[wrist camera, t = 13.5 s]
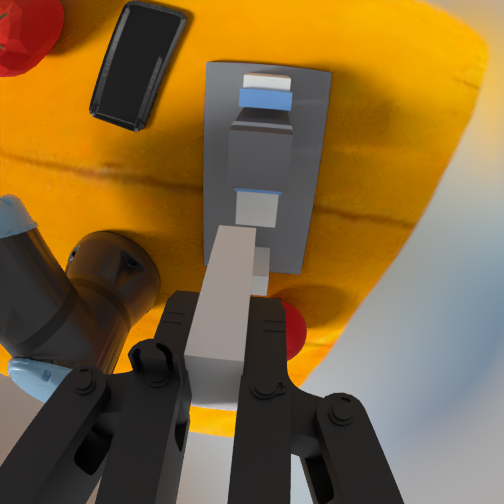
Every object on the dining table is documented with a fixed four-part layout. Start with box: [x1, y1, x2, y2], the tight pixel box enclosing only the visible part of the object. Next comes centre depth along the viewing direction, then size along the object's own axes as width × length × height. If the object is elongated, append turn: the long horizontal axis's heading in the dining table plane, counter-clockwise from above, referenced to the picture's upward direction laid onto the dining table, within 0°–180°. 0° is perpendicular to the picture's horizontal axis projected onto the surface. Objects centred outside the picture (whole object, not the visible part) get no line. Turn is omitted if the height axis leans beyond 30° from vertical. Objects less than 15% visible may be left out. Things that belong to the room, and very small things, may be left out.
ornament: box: [281, 301, 307, 361], centre depth 45 cm, size 9×9×10 cm
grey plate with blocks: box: [203, 62, 332, 296], centre depth 34 cm, size 13×26×8 cm, turn 176°
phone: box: [89, 0, 187, 132], centre depth 30 cm, size 8×1×15 cm
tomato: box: [0, 0, 64, 77], centre depth 21 cm, size 12×13×12 cm
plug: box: [227, 107, 293, 192], centre depth 28 cm, size 5×5×12 cm
